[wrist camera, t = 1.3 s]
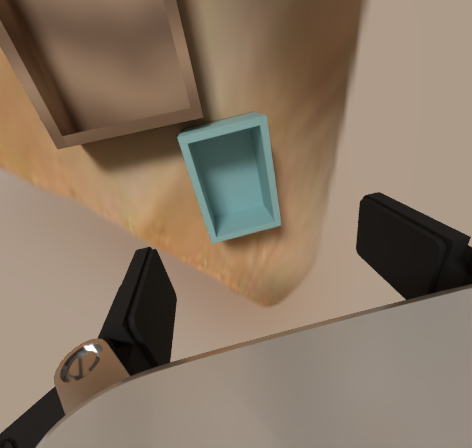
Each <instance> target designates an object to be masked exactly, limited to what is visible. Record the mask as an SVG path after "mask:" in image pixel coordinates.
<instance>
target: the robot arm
mask: <svg viewBox="0 0 472 448" xmlns="http://www.w3.org/2000/svg"><path fill="white" fill-rule="evenodd" d="M470 238H471V237H469V236H467V235H465V234H463V233H461V232H459V231H457V230H455V229H453V228H451V227H449V226H447V225H445V224H443V223H441V222H439V221H437V220H435V219H433V218H431V217H429V216H427V215H424V214H423V213H421V212H418V211H416V210H414V209H412V208H410V207H408V206H406V205H404V204H402V203H400V202H398V201H396V200H394V199H392V198H390V197H388V196H386V195H384V194H382V193H379V192H378V193H373V194H369V195H365V196H364V197H363V199H362V200H361V201H360V208H359V220H358V231H357V244H356V250H357V253H358V254H359V256H361V258H362V259H364V260H365V261H366V262H367V263H368V264H369V265H370V266H371V267H372V268H373V269H374V270H375V271H376V272H377V273H378V274H379V275H380V276H382V277H383V278H384V279H385V280H386V281H387V282H388V283H389V284H390V285H391V286H392V287H393V288H394V289H395V290H396V291H397V292H399V293H400V294H401V295H402V296H403V297H404V298H405V299H406V300H405V301H401V302H397V303H393V304H389V305H385V306H381V307H377V308H373V309H369V310H365V311H361V312H357V313H353V314H350V315H346V316H342V317H339V318H334V319H330V320H327V321H323V322H319V323H315V324H311V325H307V326H304V327H300V328H296V329H292V330H288V331H284V332H281V333H277V334H273V335H269V336H265V337H262V338H258V339H254V340H250V341H247V342H243V343H239V344H235V345H232V346H228V347H224V348H220V349H217V350H213V351H209V352H206V353H202V354H199V355H196V356H192V357H188V358H184V359H181V360H178V361H174V362H170V358H171V349H172V340H173V330H174V321H175V312H176V311H175V310H176V302H177V298H176V294H175V291H174V289H173V286H172V284H171V282H170V279H169V277H168V275H167V272H166V270H165V268H164V265H163V263H162V261H161V259H160V256H159V254H158V252H157V250H156V249H153V250H152V248H151V247H147V248H143V249H138V250H136V251H135V254H134V256H133V259H132V261H131V263H130V266H129V268H128V271H127V273H126V275H125V278H124V280H123V282H122V285H121V286H120V287H119V289H118V292H117V294H116V296H115V299H114V301H113V304H112V306H111V308H110V311H109V313H108V315H107V318H106V320H105V322H104V325H103V327H102V329H101V332H100V334H99V336H98V339H92V340H89V341H86V342H84V343H82V344H80V345H79V346H77V347H76V348H74V349H73V350H72V351H71V352H70V353H69V354H67V356H66V357H65V358H64V359H63V360H62V361H61V363H60V364H59V366H58V368H57V370H56V372H55V376H54V384H55V387H54V388H53V389H51V391H49V392H48V393H47V394H46V395H45V396H43V397H42V398H41V399H40V400H39V401H38V402H36V404H34V405H33V406H32V407H31V408H30V409H28V410H27V411H26V412H25V413H24V414H23V415H21V416H20V417H19V418H18V419H17V420H16V421H14V422H13V423H12V424H11V425H10V426H9V427H8V428H6V429H5V430H4V431H3V432H2V433H1V434H0V448H472V247H470V246H468V243H469V240H470Z"/></svg>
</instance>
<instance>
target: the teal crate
mask: <svg viewBox="0 0 472 448" xmlns="http://www.w3.org/2000/svg"><path fill="white" fill-rule="evenodd" d="M177 138H178V141H179V145H180V148H181V151H182V154H183V157H184V160H185V163H186V166H187V169H188V172H189V175H190V178H191V181H192V184H193V187H194V190H195V193H196V197H197V200H198V203H199V206H200V209H201V212H202V215H203V218H204V221H205V224H206V227H207V230H208V233H209V236H210V239H211V242H212V244H213V243H217V242H221V241H225V240H228V239H232V238H236V237H240V236H243V235H247V234H251V233H255V232H258V231H262V230H266V229H270V228H274V227H277V226H281V218H280V211H279V204H278V196H277V189H276V181H275V174H274V167H273V159H272V152H271V145H270V137H269V130H268V122H267V115H264V114H260V113H255V112H251V113H247V114H243V115H239V116H235V117H231V118H227V119H223V120H219V121H215V122H211V123H207V124H203V125H199V126H195V127H191V128H187V129H183V130H181V131H180V133H179V135H178V137H177Z"/></svg>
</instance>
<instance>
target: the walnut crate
mask: <svg viewBox="0 0 472 448" xmlns="http://www.w3.org/2000/svg"><path fill="white" fill-rule="evenodd" d="M0 47H1V48H2V50H3V52H4V54H5V56H6V57H7V59H8V61H9V63H10V65H11V66H12V68H13V70H14V72H15V73H16V75H17V77H18V79H19V81H20V82H21V84H22V86H23V88H24V90H25V91H26V93H27V95H28V97H29V99H30V100H31V102H32V104H33V106H34V108H35V109H36V111H37V113H38V115H39V117H40V118H41V120H42V122H43V124H44V126H45V127H46V129H47V131H48V133H49V135H50V136H51V138H52V140H53V142H54V144H55V145H56V147H57V149H62V148H66V147H71V146H75V145H80V144H85V143H89V142H94V141H98V140H103V139H108V138H112V137H117V136H121V135H126V134H131V133H135V132H140V131H144V130H149V129H153V128H158V127H163V126H167V125H172V124H176V123H181V122H186V121H190V120H195V119H199V118H204V117H203V113H202V109H201V104H200V100H199V96H198V91H197V87H196V83H195V79H194V74H193V70H192V66H191V61H190V57H189V53H188V49H187V44H186V40H185V36H184V32H183V27H182V23H181V19H180V14H179V10H178V6H177V2H176V0H0Z"/></svg>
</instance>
